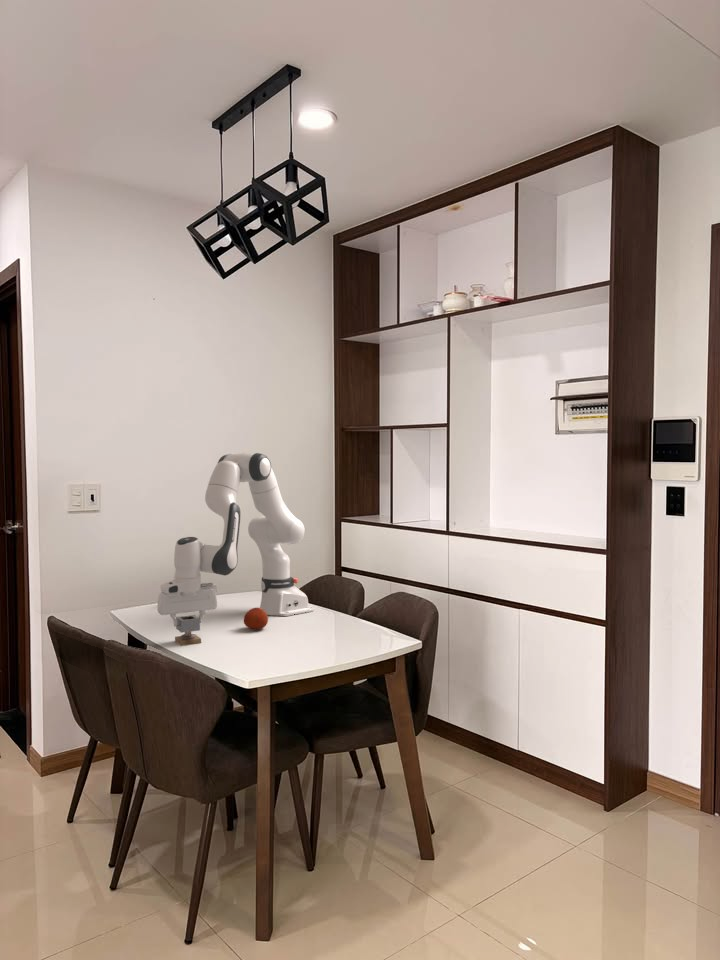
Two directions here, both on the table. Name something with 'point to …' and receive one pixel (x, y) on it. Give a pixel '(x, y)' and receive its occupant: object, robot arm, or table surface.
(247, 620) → the fruit
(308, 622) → the table surface
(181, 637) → the post block
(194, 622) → the grey square frame
